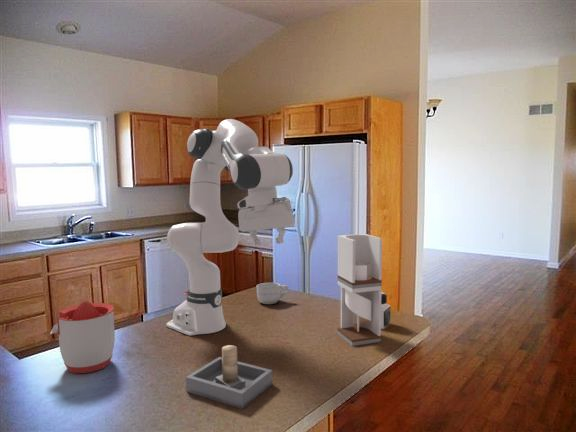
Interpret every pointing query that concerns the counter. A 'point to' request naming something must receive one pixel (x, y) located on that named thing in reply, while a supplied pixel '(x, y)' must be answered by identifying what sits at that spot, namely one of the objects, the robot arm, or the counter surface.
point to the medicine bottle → (384, 311)
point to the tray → (207, 387)
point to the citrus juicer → (86, 336)
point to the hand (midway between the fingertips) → (268, 244)
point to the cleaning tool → (230, 369)
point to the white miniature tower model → (360, 288)
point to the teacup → (270, 292)
